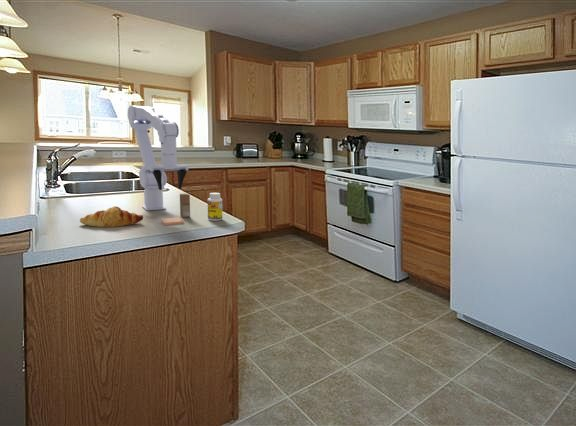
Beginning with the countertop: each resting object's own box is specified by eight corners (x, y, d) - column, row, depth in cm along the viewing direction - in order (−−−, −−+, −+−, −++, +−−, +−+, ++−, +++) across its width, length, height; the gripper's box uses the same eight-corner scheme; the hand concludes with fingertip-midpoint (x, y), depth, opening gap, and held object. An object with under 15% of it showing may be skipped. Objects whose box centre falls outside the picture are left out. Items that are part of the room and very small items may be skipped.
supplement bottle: (204, 219, 157) (204, 193, 155) (214, 217, 162) (213, 191, 160) (216, 221, 155) (215, 195, 152) (225, 219, 159) (225, 193, 157)
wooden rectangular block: (180, 216, 162) (179, 193, 160) (187, 215, 163) (187, 193, 162) (182, 218, 159) (182, 195, 157) (190, 217, 161) (189, 194, 159)
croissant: (79, 237, 142) (74, 219, 137) (83, 218, 150) (79, 201, 145) (143, 233, 147) (140, 216, 142) (145, 215, 155) (142, 198, 150)
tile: (160, 218, 153) (164, 222, 147) (179, 217, 156) (183, 221, 150) (160, 222, 153) (164, 226, 147) (179, 220, 157) (184, 224, 151)
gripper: (152, 155, 152) (153, 191, 155) (190, 154, 160) (191, 189, 162) (147, 154, 158) (149, 188, 161) (185, 153, 166) (186, 187, 168)
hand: (170, 189), depth 162 cm, fingers open, 7 cm apart
